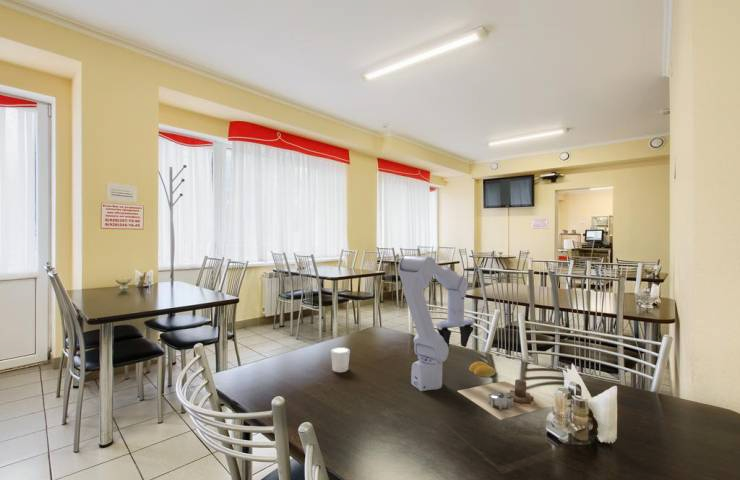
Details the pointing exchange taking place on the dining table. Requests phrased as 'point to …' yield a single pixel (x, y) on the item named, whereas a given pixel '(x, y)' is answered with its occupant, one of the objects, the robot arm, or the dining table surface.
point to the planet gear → (521, 393)
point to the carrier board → (482, 392)
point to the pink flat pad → (524, 404)
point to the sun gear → (500, 400)
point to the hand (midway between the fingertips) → (454, 347)
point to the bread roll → (482, 369)
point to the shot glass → (340, 359)
